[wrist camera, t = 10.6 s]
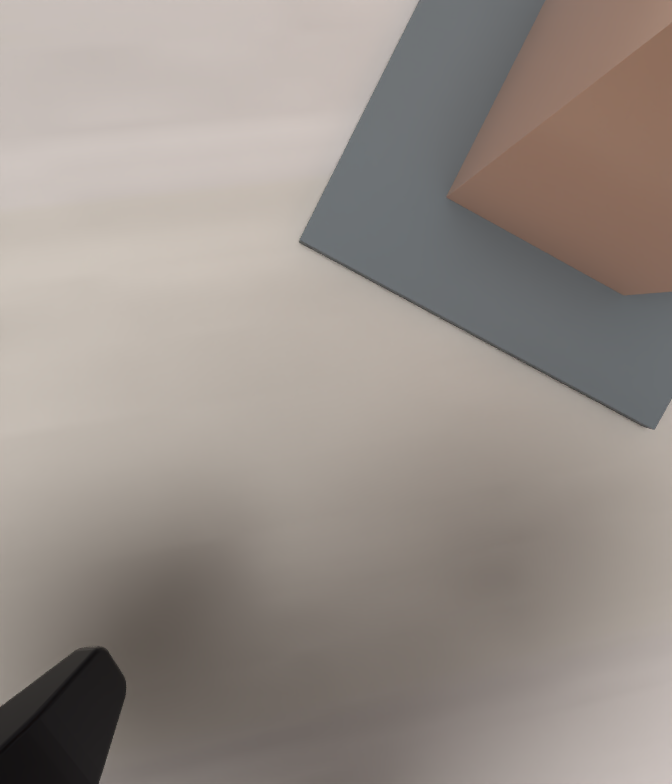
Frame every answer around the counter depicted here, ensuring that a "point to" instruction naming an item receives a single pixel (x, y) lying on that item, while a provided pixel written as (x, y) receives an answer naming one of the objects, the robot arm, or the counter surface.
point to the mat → (479, 220)
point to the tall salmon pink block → (584, 143)
